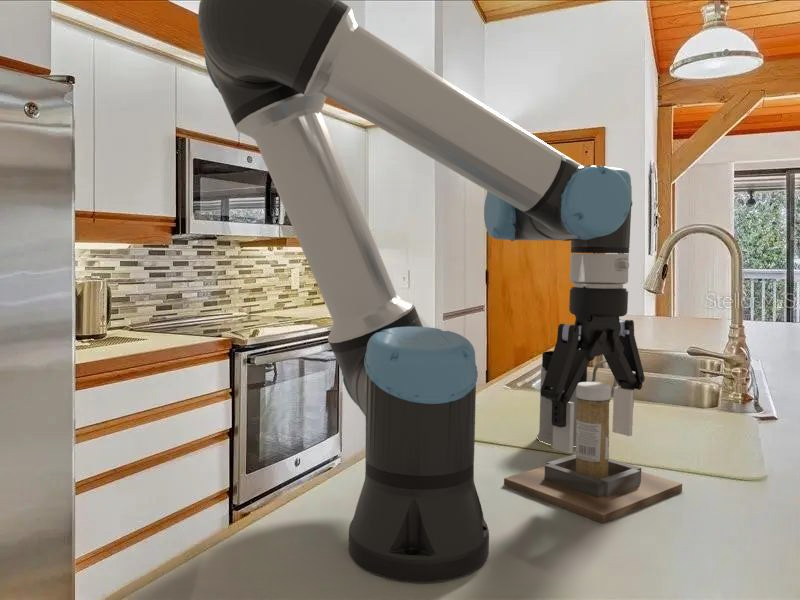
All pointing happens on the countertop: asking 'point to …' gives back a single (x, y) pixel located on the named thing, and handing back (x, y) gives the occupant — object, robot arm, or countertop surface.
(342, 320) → the robot arm
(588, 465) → the sprinkles bottle
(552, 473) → the socket board
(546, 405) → the grey mug
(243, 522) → the countertop surface
